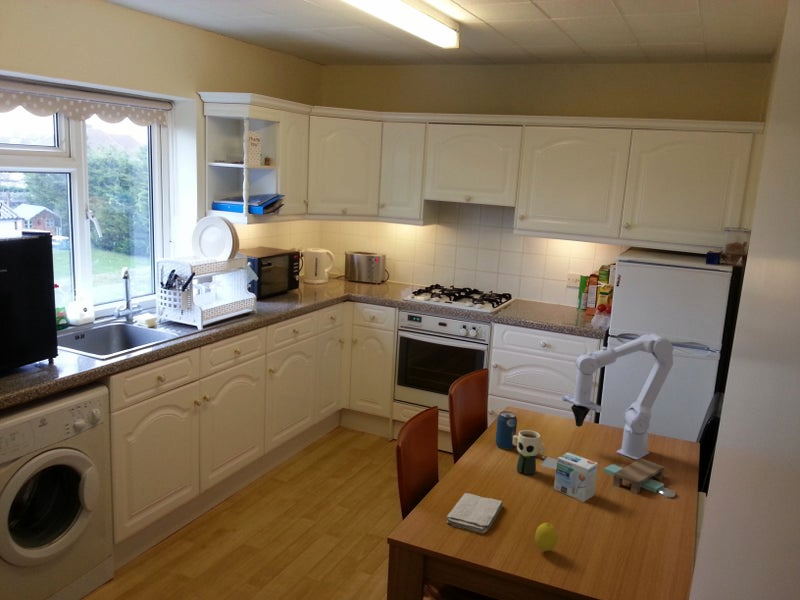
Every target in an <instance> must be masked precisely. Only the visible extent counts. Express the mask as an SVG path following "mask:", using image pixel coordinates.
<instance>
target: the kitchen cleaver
mask: <svg viewBox="0 0 800 600" xmlns="http://www.w3.org/2000/svg"><path fill="white" fill-rule="evenodd" d="M535 458H536V459H539V460H540V461H542V462H541V464H540V467H545V468H547V469H548V468H549V469H551V470H555V471H556V467H557V458H553V457H548V456H546V455H542V454H539V453H538V454H537V455H535Z"/></svg>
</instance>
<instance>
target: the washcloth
mask: <svg viewBox="0 0 800 600" xmlns="http://www.w3.org/2000/svg"><path fill="white" fill-rule="evenodd" d="M502 508H503V501H502V500H498V499H494V498H493V497H491V498H489V497H482V496H480V495H476V494H472V493H467V492H465V493H464V494H463V495H462V496H461V497H460V498H459V500H458V501H457V502H456V504H455V506H453V508H452V509H451V511H450V512H449V513H448V514H447V515H446V520H447V521H446V522H445V523H446V524H447V525H448V524H449V525H451V526H453V527H456V528H459V529H463V530H467V531H470V532H473V533H477V534H485V533H486V532H488V530H489V529H490V528H491V526H492V525H493V523H494V522H495V520H496V518H497V516H498V515H499V513H500V511H501V509H502Z"/></svg>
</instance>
